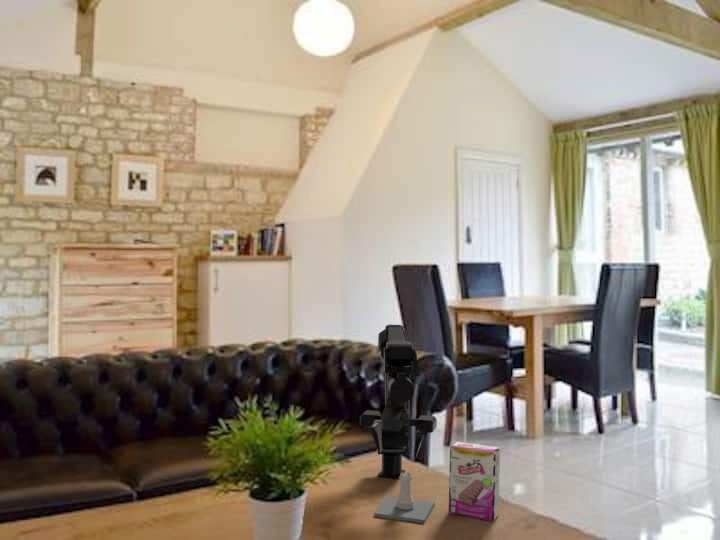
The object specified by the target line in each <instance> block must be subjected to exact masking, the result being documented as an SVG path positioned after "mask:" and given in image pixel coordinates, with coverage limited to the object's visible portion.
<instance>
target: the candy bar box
mask: <svg viewBox="0 0 720 540" xmlns="http://www.w3.org/2000/svg"><path fill="white" fill-rule="evenodd" d="M500 465H501V448H500V447H498V446H491V445H484V444H478V443H471V442H463V441H457V440H456V441H454V443H452V444H450V446H449V478H448V481H449V482H448V483H449V484H448V487H449V488H448V514H451V515H457V516H461V517H466V518H471V519H477V520H483V521H487V522H495V521H496V519H497V518H498V516H499V515H500V513H499V512H500V511H499V510H500V509H499V508H500V506H499V504H500V467H501V466H500Z"/></svg>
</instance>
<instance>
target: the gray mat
mask: <svg viewBox="0 0 720 540" xmlns="http://www.w3.org/2000/svg"><path fill="white" fill-rule="evenodd" d="M397 498H398V496H390V495H387V496H386V497H385V499H384V500H383V501H382V502H381V504H380V505H379V506H378V508H377V509H376V510H375V511H374V512H373V517H375V518H382V519H383V518H384V519H389V520H390V519H391V520H397V521H404V522H411V523H412V522H413V523H417V524H418V523H419V524H426V522H427V520H428V518H429V516H430V515H431V512H432V510H433V508H434V507H435V501H429V500H421V499H416V498H415V499H414V498H413V500H414V503H413V504H414V507H413V509H411V510H401V509H398V508H397V506H396V504H397V502H396V500H397Z"/></svg>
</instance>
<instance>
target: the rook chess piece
mask: <svg viewBox="0 0 720 540" xmlns="http://www.w3.org/2000/svg"><path fill="white" fill-rule="evenodd" d="M398 480H399V481H400V483H399V487H400V489H399V494H398V495H397V497H398V498H397V500H396V502H397V504H396V506H397V508H398V509H401V510H411V509H413V507H414V504H413V503H414V500H413V499H414V498H413V496H412V490H411V486H412V483H411V481H412V480H413V477H412V474H411V473H410V472H406V471H405V472H404V474H403V473H401V474H400V477H399V478H398Z"/></svg>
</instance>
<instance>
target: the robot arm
mask: <svg viewBox="0 0 720 540" xmlns="http://www.w3.org/2000/svg"><path fill="white" fill-rule="evenodd" d="M404 328H405V327H404V325H402V324H387V325H385V328H384V329H382V330H381V331H380V332H379V333H378V338H377V339H378V340H377V351H378V352H379V357H380V359H381V361H382V363H383V370H384V373H385V376H384V377H385V382H384V383H385V393H384V397H385V406H384V409H383V411H382V413H381V412H380V410H371V409H366V411H364V412H363V413H362V414H361V415H360V416H359V426H361V427H364V429H365V430H368V431H369V433H370V434H371V436H372V438H373V441H374V443H375V447H376V451H377V452H376V453H377V455H381V470H380V471H379V472H378V473H377V476H378V477H382V478H383V477H384V478H391V479H392V478H393V479H399V477H400V474H401V473H403V474H404V472H406V470H405V469H403V468H402V467H403V456H405V455H406V456H407V455H408V454H409V453H410V442H411V438H410V437H409V434H408V432H406V431H407V430H406V426H407V427H408V426H409V427H416V429H417V430H416V431H415V442H414V450H413V457H414V458H417V457H418V453H419V450H420V448H421V446H422V444H423V443H422V442H423V440H424V438H425V436H428V435H429V434H431V433H434V431H435V430H436V429H437V426H438V425H437V424H438V422H437V421H438V420H437V418H436V417H435V416H434V415H424V414H420V416H419V417H418V418H414V417H413V418H412V415H411V411H410V408H411V404H410V403H411V399H412V398H413V396H414V394H415V388H414V385H413V383H412V381H411V374H416V373H417V370H418V367H419V365H418V352H417V351H416V349H415V347H414V348H413V344H412V343H411V342H410V341H408V340H409V339H408V338H409V337H408V336H409V335H408V333H407V332H406V331H405V330H404Z"/></svg>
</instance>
